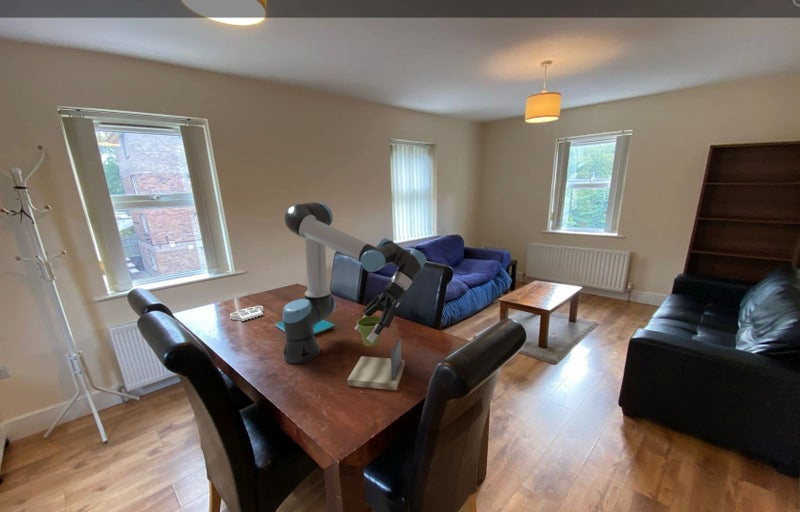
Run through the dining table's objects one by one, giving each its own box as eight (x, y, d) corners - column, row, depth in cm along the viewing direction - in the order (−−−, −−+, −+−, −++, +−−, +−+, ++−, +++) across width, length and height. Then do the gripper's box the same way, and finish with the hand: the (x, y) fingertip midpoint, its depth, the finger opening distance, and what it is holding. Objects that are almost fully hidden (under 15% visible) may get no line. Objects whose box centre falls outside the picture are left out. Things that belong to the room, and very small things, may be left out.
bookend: (391, 380, 110) (390, 354, 108) (398, 361, 122) (397, 338, 120) (395, 380, 110) (393, 354, 108) (401, 362, 121) (400, 338, 119)
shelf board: (347, 385, 112) (347, 379, 111) (361, 361, 127) (361, 356, 127) (396, 390, 108) (396, 383, 108) (404, 365, 124) (404, 359, 123)
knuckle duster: (236, 325, 169) (227, 318, 179) (269, 315, 181) (259, 309, 191) (235, 319, 168) (226, 312, 178) (268, 309, 180) (258, 303, 191)
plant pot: (374, 351, 109) (372, 328, 107) (353, 345, 114) (351, 323, 112) (388, 340, 117) (387, 318, 115) (369, 335, 122) (367, 314, 120)
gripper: (420, 298, 111) (384, 352, 106) (389, 284, 129) (357, 329, 124) (408, 287, 107) (369, 342, 102) (377, 274, 125) (344, 320, 120)
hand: (363, 335), depth 113 cm, fingers closed on plant pot, 9 cm apart
